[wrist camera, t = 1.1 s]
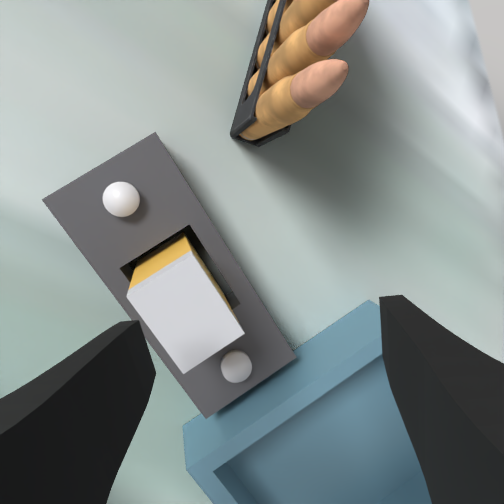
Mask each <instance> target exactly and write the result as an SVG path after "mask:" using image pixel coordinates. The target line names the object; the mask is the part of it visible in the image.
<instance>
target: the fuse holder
mask: <svg viewBox="0 0 504 504" xmlns="http://www.w3.org/2000/svg"><path fill="white" fill-rule="evenodd" d="M42 200H43V202H44V203H45V205H46V206H47V207H48V209H49V210H50V211H51V213H52V214H53V215H54V217H55V218H56V219H57V221H58V222H59V223H60V225H61V226H62V227H63V229H64V230H65V231H66V233H67V234H68V235H69V237H70V238H71V239H72V241H73V242H74V243H75V245H76V246H77V247H78V249H79V250H80V251H81V253H82V254H83V255H84V257H85V258H86V259H87V261H88V262H89V263H90V265H91V266H92V267H93V269H94V270H95V271H96V273H97V274H98V275H99V277H100V278H101V279H102V281H103V282H104V283H105V285H106V286H107V287H108V289H109V290H110V291H111V293H112V294H113V295H114V297H115V298H116V300H117V301H118V302H119V304H120V305H121V306H122V308H123V309H124V310H125V312H126V313H127V314H128V316H129V317H130V318H131V320H132V321H133V320H139V321H140V324H141V328H142V331H143V334H144V337H145V338H146V340H147V341H148V342H149V344H150V345H151V346H152V348H153V349H154V350H155V352H156V353H157V354H158V356H159V357H160V358H161V360H162V361H163V362H164V364H165V365H166V366H167V368H168V369H169V370H170V372H171V373H172V374H173V376H174V377H175V378H176V380H177V381H178V382H179V384H180V385H181V386H182V388H183V389H184V390H185V392H186V393H187V394H188V396H189V397H190V399H191V400H192V401H193V403H194V404H195V405H196V407H197V408H198V409H199V411H200V412H201V413H202V415H203V416H204V417H205V419H207V418H208V417H210V416H211V415H213V414H214V413H216V412H217V411H219V410H220V409H222V408H223V407H225V406H226V405H228V404H229V403H230V402H232V401H233V400H235V399H236V398H238V397H239V396H241V395H242V394H244V393H245V392H247V391H248V390H250V389H251V388H252V387H254V386H255V385H257V384H258V383H260V382H261V381H263V380H264V379H266V378H267V377H269V376H270V375H272V374H273V373H275V372H276V371H277V370H279V369H280V368H282V367H283V366H285V365H286V364H288V363H289V362H291V361H292V360H294V359H295V358H297V357H296V356H295V354H294V352H293V351H292V349H291V348H290V346H289V344H288V343H287V341H286V340H285V338H284V337H283V335H282V333H281V332H280V330H279V329H278V327H277V325H276V324H275V322H274V321H273V319H272V317H271V316H270V314H269V313H268V311H267V309H266V308H265V306H264V305H263V303H262V301H261V300H260V298H259V297H258V295H257V293H256V292H255V290H254V289H253V287H252V285H251V284H250V282H249V281H248V279H247V277H246V276H245V274H244V273H243V271H242V269H241V268H240V266H239V265H238V263H237V262H236V260H235V258H234V257H233V255H232V254H231V252H230V250H229V249H228V247H227V246H226V244H225V242H224V241H223V239H222V238H221V236H220V234H219V233H218V231H217V230H216V228H215V226H214V225H213V223H212V222H211V220H210V218H209V217H208V215H207V214H206V212H205V210H204V209H203V207H202V206H201V204H200V202H199V201H198V199H197V198H196V196H195V194H194V193H193V191H192V190H191V188H190V187H189V185H188V183H187V182H186V180H185V179H184V177H183V175H182V174H181V172H180V171H179V169H178V167H177V166H176V164H175V163H174V161H173V159H172V158H171V156H170V155H169V153H168V151H167V150H166V148H165V147H164V145H163V143H162V142H161V140H160V139H159V137H158V135H157V134H156V132H155V133H153V134H151V135H150V136H148V137H146V138H144V139H143V140H141V141H139V142H138V143H136V144H134V145H133V146H131V147H129V148H128V149H126V150H124V151H123V152H121V153H119V154H118V155H116V156H114V157H113V158H111V159H109V160H108V161H106V162H104V163H103V164H101V165H99V166H97V167H96V168H94V169H92V170H91V171H89V172H87V173H86V174H84V175H82V176H81V177H79V178H77V179H76V180H74V181H72V182H71V183H69V184H67V185H66V186H64V187H62V188H61V189H59V190H57V191H56V192H54V193H52V194H50V195H49V196H47V197H45V198H44V199H42ZM188 225H190V226H191V228H192V229H193V231H194V232H195V234H196V235H197V237H198V238H199V240H200V242H201V243H202V245H203V246H204V248H205V249H206V251H207V252H208V254H209V255H210V257H211V259H212V260H213V262H214V263H215V265H216V266H217V268H218V269H219V271H220V273H221V274H222V276H223V277H224V279H225V280H226V282H227V283H228V285H229V286H230V288H231V290H232V292H231V293H229V294H228V295H226V296H225V297H226V299H227V301H228V303H229V305H230V307H231V309H232V310H233V312H234V314H235V316H236V318H237V320H238V322H239V324H240V325H241V327H242V329H243V331H244V333H245V334H243V335H242V336H240V337H239V338H237V339H236V340H234V341H233V342H231V343H230V344H228V345H227V346H225V347H224V348H222V349H221V350H219V351H218V352H216V353H215V354H213V355H212V356H210V357H209V358H207V359H206V360H204V361H203V362H201V363H200V364H198V365H197V366H195V367H194V368H192V369H191V370H189V371H188V372H186V373H185V374H183V373H182V372H181V370H180V369H179V368H178V366H177V365H176V364H175V362H174V361H173V360H172V358H171V357H170V355H169V354H168V353H167V351H166V350H165V349H164V347H163V346H162V345H161V343H160V342H159V341H158V339H157V338H156V336H155V335H154V334H153V332H152V331H151V330H150V328H149V327H148V326H147V324H146V323H145V322H144V320H143V319H142V317H141V316H140V315H139V313H138V312H137V311H136V309H135V308H134V307H133V305H132V304H131V303H130V301H129V300H128V299H127V297H126V296H127V293H128V290H129V286H130V283H131V280H132V276H133V273H134V271H133V270H132V269H131V267H130V266H129V264H128V263H129V262H130V261H132V260H133V259H135V258H136V257H138V256H140V255H141V254H143V253H144V252H146V251H148V250H149V249H151V248H152V247H154V246H156V245H157V244H159V243H160V242H162V241H164V240H165V239H167V238H168V237H170V236H172V235H173V234H175V233H176V232H178V231H180V230H181V229H183V228H184V227H186V226H188Z"/></svg>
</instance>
